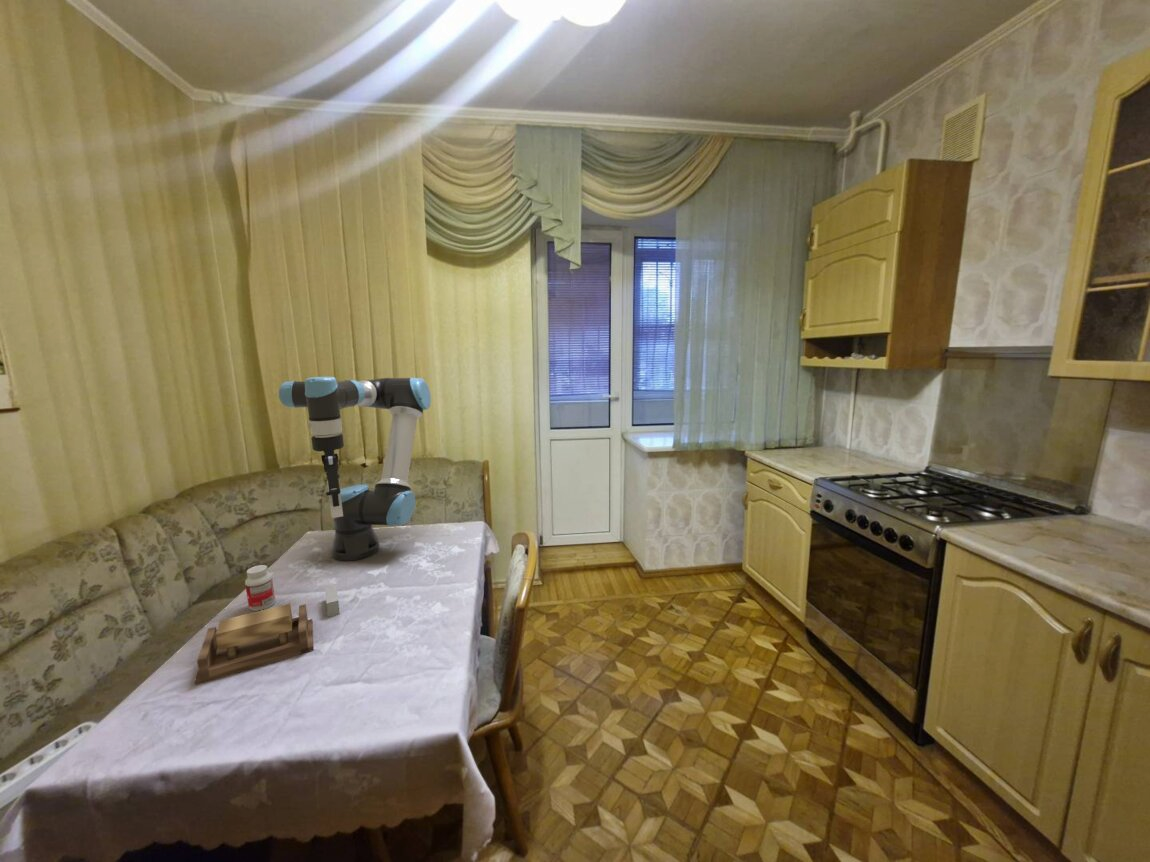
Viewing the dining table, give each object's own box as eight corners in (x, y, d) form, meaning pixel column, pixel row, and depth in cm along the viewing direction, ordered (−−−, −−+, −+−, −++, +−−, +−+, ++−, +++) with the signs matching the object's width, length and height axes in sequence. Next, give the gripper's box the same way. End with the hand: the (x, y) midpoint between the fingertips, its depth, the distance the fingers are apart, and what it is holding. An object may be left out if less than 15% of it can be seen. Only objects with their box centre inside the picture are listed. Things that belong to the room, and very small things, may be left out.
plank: (292, 617, 114) (290, 603, 113) (291, 630, 109) (289, 615, 108) (222, 636, 107) (219, 620, 106) (218, 650, 102) (215, 634, 101)
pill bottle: (254, 601, 130) (249, 565, 128) (278, 598, 131) (273, 562, 129) (245, 613, 124) (239, 575, 122) (270, 610, 125) (265, 572, 123)
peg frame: (206, 650, 109) (202, 630, 108) (312, 622, 120) (310, 603, 119) (195, 685, 98) (191, 662, 97) (313, 650, 108) (310, 629, 107)
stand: (326, 599, 130) (324, 586, 129) (337, 596, 132) (336, 584, 131) (328, 617, 122) (326, 603, 121) (339, 614, 123) (338, 600, 122)
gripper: (310, 428, 132) (319, 498, 136) (311, 445, 111) (322, 527, 115) (339, 425, 136) (347, 493, 140) (345, 441, 115) (354, 521, 119)
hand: (336, 509), depth 128 cm, fingers open, 13 cm apart
